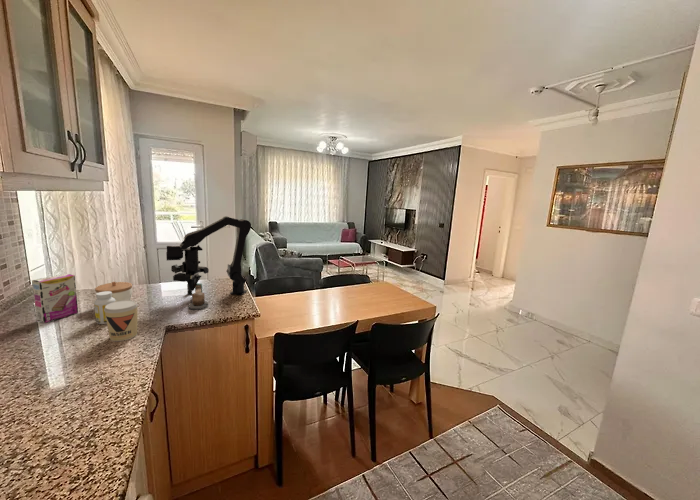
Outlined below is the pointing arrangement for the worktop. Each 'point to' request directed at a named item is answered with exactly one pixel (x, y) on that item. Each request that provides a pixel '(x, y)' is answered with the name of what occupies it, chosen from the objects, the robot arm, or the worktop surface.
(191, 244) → the robot arm
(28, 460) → the worktop surface
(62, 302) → the candy bar box
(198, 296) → the capstan lever
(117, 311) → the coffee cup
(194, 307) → the dark grey pieces
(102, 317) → the pill bottle
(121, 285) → the lidded bowl
